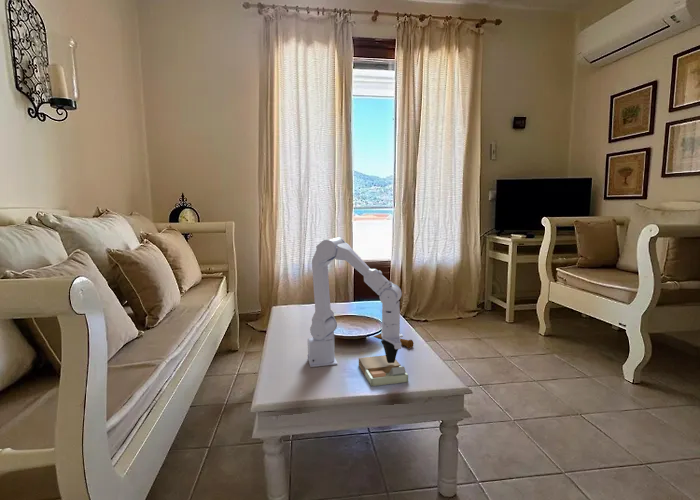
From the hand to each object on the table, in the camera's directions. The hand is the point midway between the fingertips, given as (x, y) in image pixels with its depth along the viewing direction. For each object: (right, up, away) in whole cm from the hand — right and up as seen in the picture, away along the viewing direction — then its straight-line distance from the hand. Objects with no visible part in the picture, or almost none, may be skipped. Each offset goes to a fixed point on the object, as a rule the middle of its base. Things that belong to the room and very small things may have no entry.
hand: (390, 362), depth 130 cm
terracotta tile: (-5, -1, -6) cm, 8 cm away
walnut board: (-4, -3, +3) cm, 6 cm away
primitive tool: (+4, 0, +29) cm, 29 cm away
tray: (-2, -4, -5) cm, 7 cm away
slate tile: (+1, -1, -5) cm, 6 cm away
